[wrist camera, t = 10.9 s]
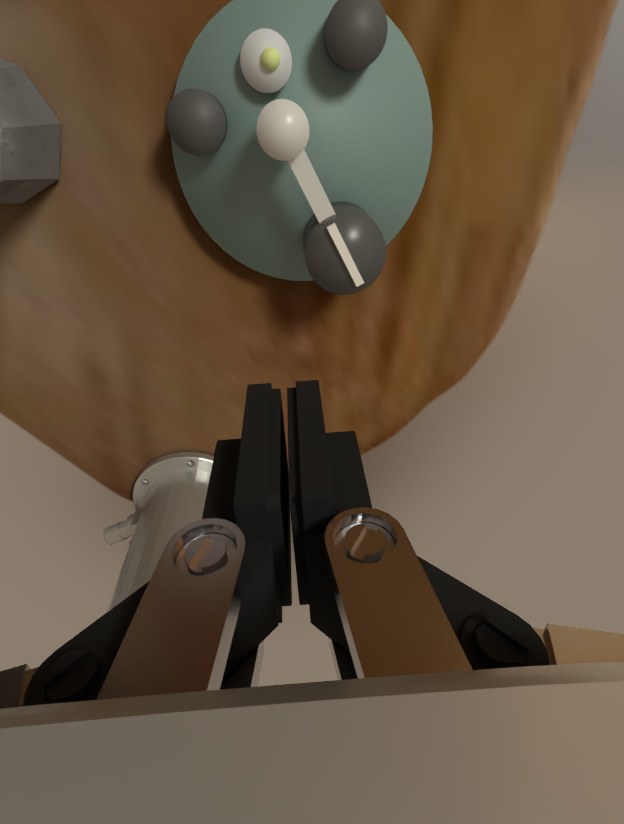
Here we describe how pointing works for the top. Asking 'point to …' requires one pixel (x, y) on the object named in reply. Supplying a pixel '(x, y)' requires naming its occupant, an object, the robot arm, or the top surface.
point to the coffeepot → (25, 137)
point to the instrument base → (327, 116)
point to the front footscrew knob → (323, 209)
